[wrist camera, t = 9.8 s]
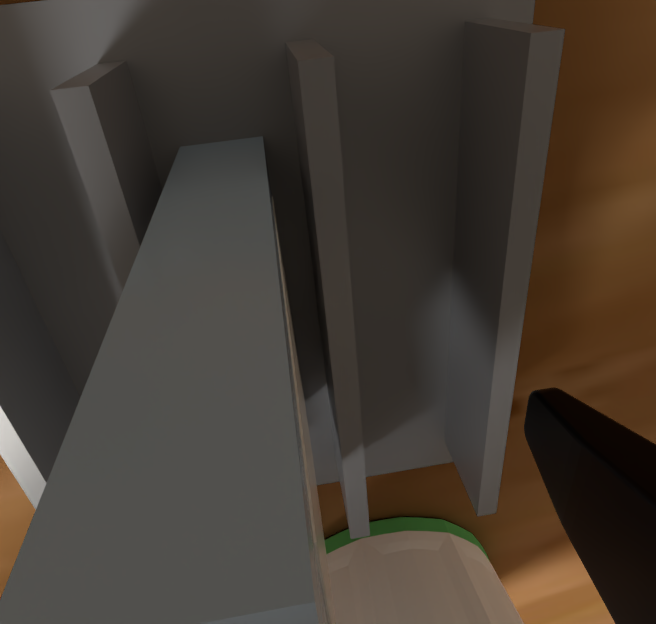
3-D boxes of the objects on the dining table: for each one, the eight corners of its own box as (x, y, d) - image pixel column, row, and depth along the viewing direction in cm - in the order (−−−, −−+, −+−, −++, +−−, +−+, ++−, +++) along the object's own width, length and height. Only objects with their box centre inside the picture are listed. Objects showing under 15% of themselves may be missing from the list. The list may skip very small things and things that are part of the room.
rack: (472, 433, 17) (521, 531, 14) (100, 495, 16) (66, 613, 13) (516, -51, 10) (636, -65, 7) (-147, 21, 9) (-344, 40, 6)
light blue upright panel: (305, 401, 14) (376, 901, 6) (244, 411, 14) (243, 931, 6) (264, 136, 10) (319, 601, 2) (178, 146, 10) (-32, 664, 2)
